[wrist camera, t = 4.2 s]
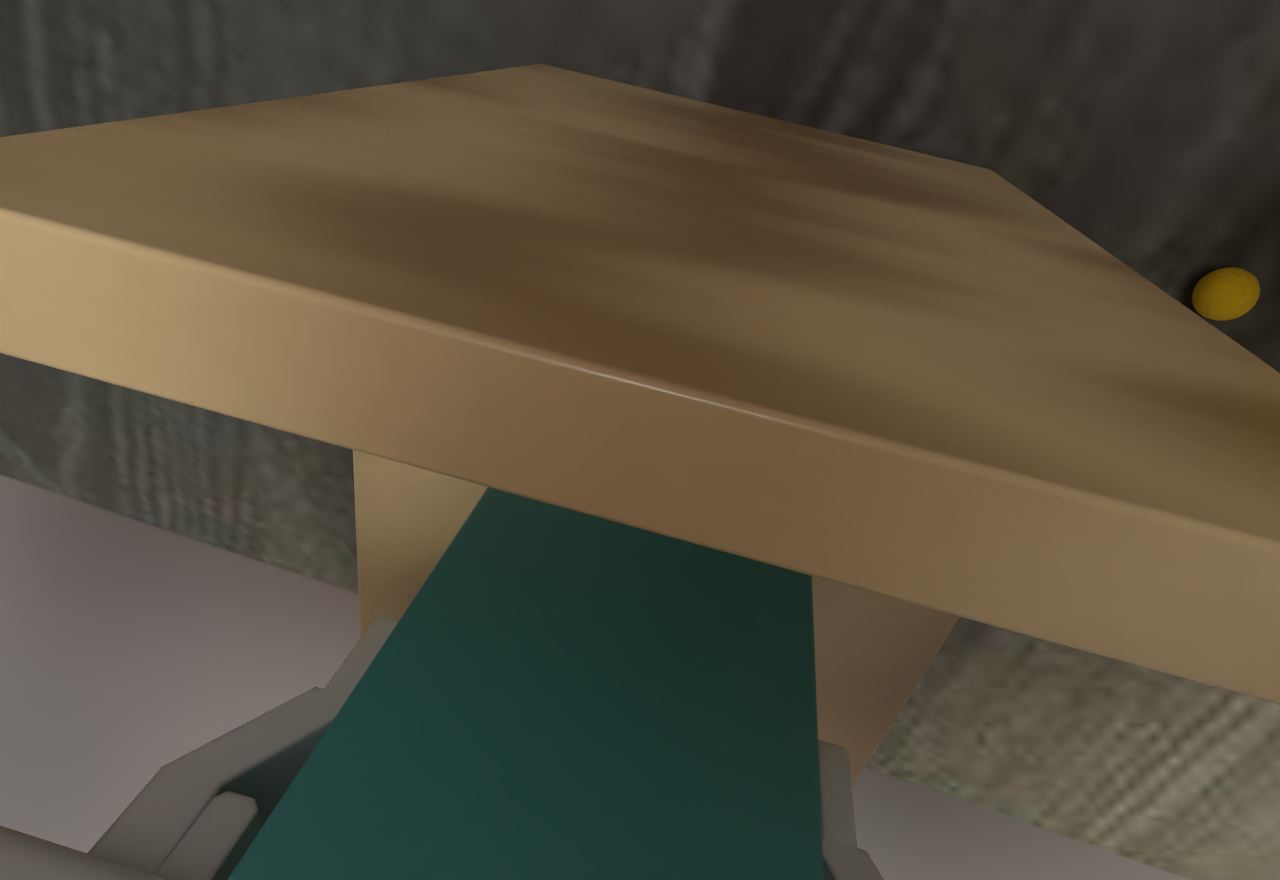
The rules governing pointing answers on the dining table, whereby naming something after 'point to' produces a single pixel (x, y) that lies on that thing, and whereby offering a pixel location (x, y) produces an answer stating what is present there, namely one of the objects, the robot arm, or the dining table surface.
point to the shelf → (681, 357)
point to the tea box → (570, 719)
